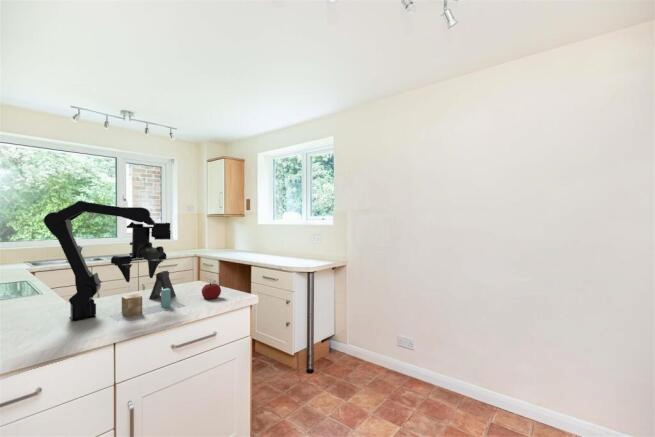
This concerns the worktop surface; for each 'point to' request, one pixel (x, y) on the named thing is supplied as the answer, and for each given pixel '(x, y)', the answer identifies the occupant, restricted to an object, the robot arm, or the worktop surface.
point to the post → (165, 298)
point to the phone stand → (162, 285)
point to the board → (148, 311)
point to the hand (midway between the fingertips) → (139, 280)
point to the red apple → (211, 291)
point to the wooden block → (131, 305)
